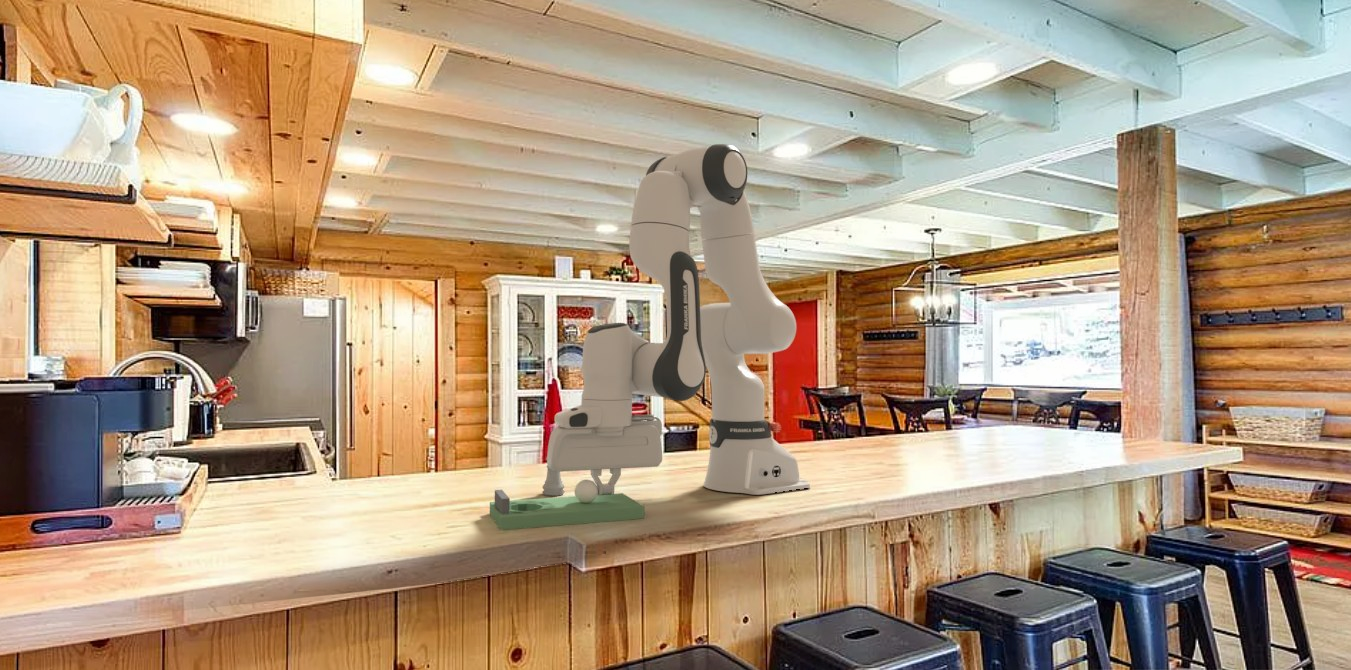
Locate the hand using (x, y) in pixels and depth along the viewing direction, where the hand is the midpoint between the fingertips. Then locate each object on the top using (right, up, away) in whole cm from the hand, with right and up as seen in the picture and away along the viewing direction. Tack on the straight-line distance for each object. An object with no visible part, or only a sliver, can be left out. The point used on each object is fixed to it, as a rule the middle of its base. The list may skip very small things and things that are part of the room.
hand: (605, 494), depth 124 cm
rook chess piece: (-12, -4, +16) cm, 20 cm away
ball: (-3, +1, -1) cm, 3 cm away
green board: (-6, -3, -2) cm, 8 cm away
